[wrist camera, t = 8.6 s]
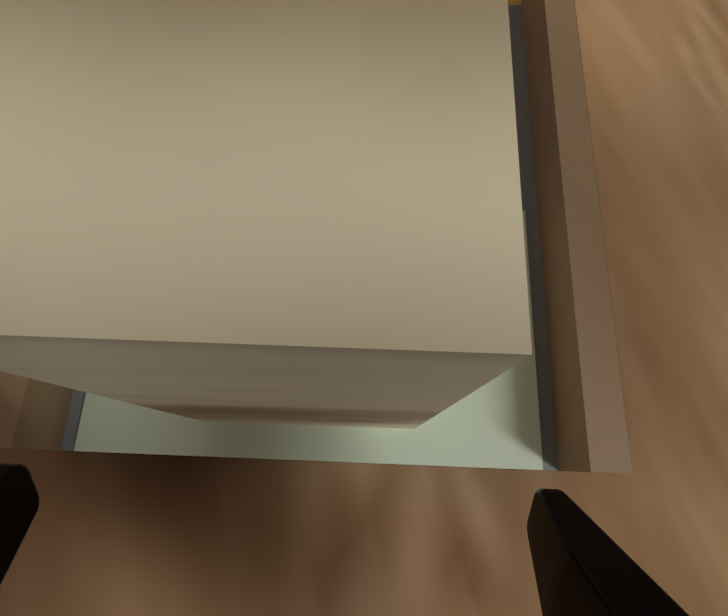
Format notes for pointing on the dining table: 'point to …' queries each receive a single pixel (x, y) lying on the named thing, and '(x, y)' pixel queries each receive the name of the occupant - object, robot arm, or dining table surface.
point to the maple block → (262, 205)
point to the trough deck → (491, 401)
